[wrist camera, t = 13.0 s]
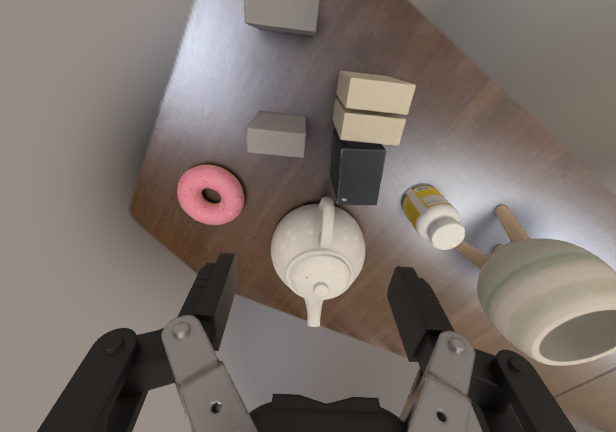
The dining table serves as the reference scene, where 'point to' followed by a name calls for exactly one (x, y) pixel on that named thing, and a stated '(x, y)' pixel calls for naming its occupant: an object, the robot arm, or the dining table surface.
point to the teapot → (318, 253)
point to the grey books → (275, 126)
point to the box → (356, 171)
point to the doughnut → (217, 181)
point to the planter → (547, 296)
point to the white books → (371, 107)
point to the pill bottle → (433, 216)
